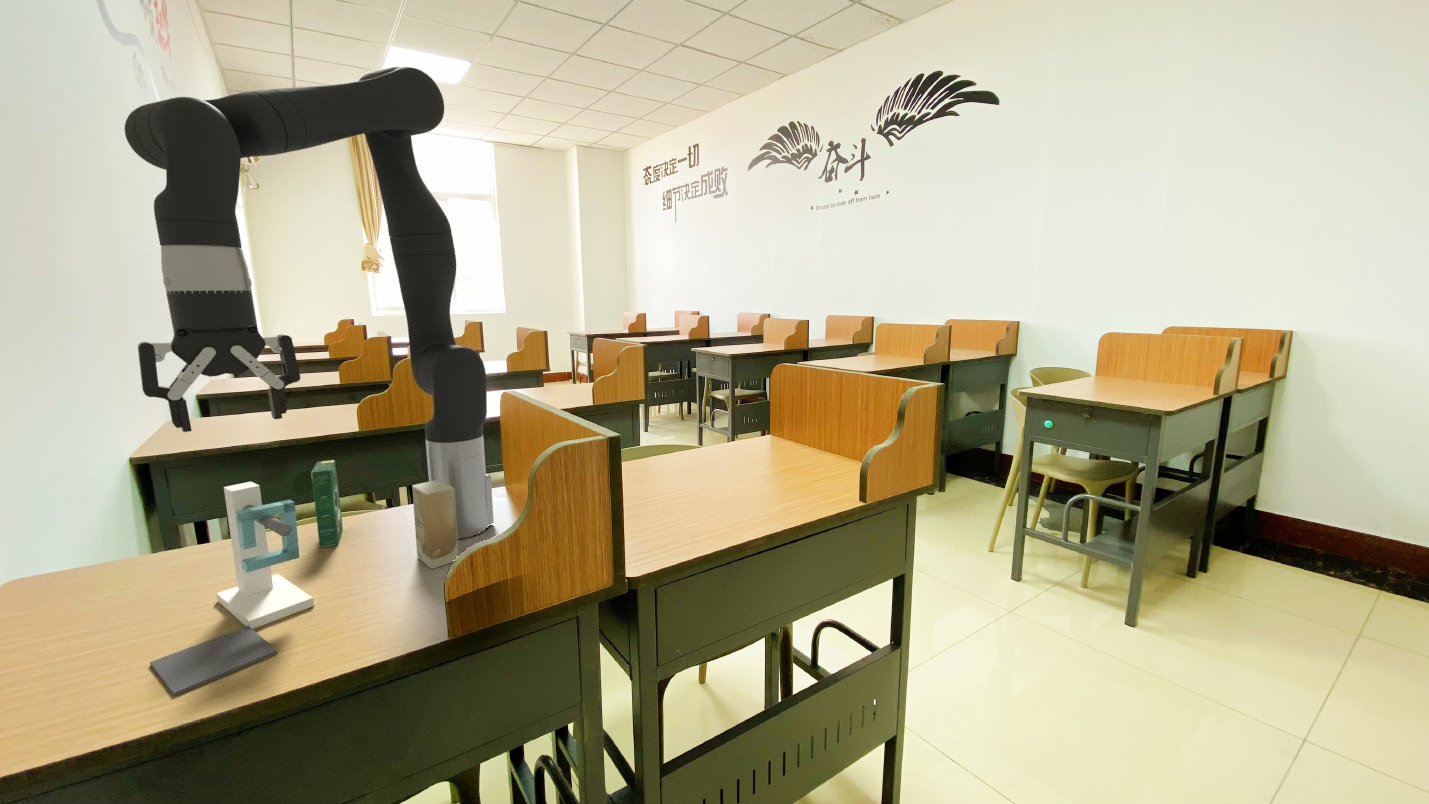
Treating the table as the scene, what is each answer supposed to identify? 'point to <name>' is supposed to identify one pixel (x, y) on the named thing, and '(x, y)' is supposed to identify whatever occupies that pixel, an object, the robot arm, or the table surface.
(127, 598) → the table surface
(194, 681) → the pad
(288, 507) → the c link
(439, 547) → the skincare box
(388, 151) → the robot arm
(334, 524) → the coffee box
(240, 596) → the stand
